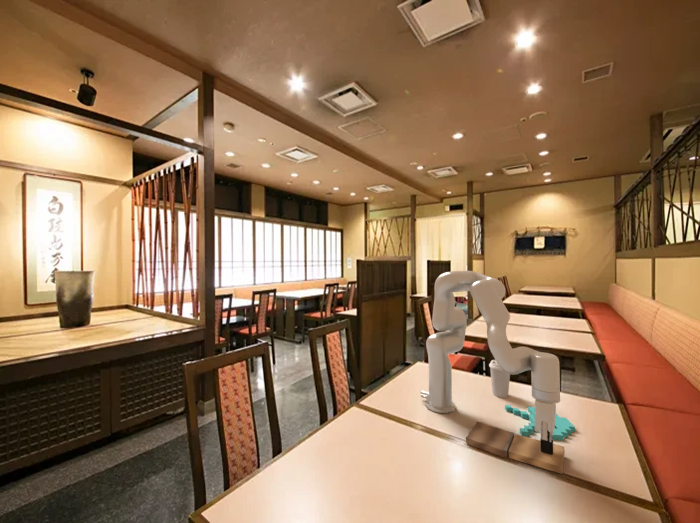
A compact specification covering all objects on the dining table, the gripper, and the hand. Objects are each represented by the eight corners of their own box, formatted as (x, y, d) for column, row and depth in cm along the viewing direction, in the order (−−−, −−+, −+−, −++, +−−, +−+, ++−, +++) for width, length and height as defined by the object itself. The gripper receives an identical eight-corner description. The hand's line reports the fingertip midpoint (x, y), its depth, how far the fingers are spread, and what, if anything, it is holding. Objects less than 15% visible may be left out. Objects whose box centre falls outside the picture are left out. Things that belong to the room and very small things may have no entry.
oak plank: (508, 457, 96) (508, 451, 96) (515, 439, 105) (515, 434, 105) (562, 474, 87) (561, 467, 87) (564, 452, 97) (564, 446, 97)
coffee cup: (486, 389, 146) (486, 358, 146) (508, 390, 144) (508, 359, 144) (492, 398, 137) (491, 365, 137) (514, 400, 135) (514, 366, 135)
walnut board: (466, 443, 103) (466, 436, 103) (476, 426, 114) (476, 420, 114) (507, 458, 96) (507, 451, 96) (514, 439, 106) (514, 432, 106)
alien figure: (522, 437, 108) (585, 444, 104) (522, 431, 108) (585, 437, 103) (505, 409, 127) (557, 414, 123) (504, 404, 127) (557, 409, 123)
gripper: (534, 383, 103) (536, 437, 102) (528, 398, 91) (529, 460, 91) (561, 388, 98) (562, 444, 98) (558, 405, 86) (560, 470, 86)
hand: (547, 452), depth 94 cm, fingers closed
